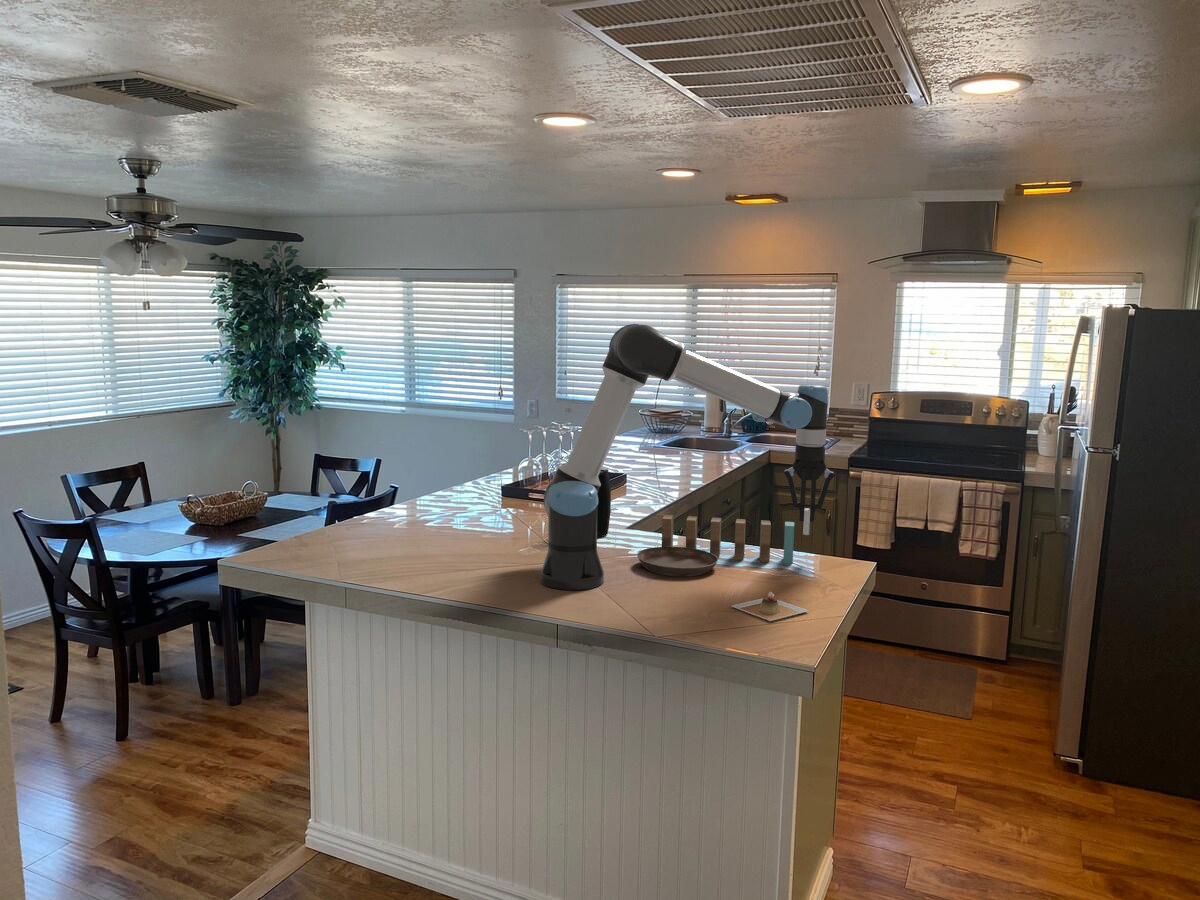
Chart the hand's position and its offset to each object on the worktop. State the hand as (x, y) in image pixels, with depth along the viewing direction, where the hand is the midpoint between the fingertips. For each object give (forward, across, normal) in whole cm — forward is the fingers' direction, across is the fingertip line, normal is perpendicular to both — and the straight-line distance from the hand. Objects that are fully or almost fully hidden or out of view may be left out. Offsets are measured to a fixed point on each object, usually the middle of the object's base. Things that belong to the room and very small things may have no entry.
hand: (806, 533), depth 233 cm
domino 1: (+8, +37, 0) cm, 37 cm away
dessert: (+9, +8, +44) cm, 45 cm away
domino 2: (+8, +30, 0) cm, 31 cm away
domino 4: (+8, +17, 0) cm, 19 cm away
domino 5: (+8, +10, 0) cm, 13 cm away
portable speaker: (+8, +60, -15) cm, 62 cm away
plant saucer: (+8, +32, +14) cm, 36 cm away
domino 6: (+8, +4, 0) cm, 9 cm away
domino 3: (+8, +24, 0) cm, 25 cm away
